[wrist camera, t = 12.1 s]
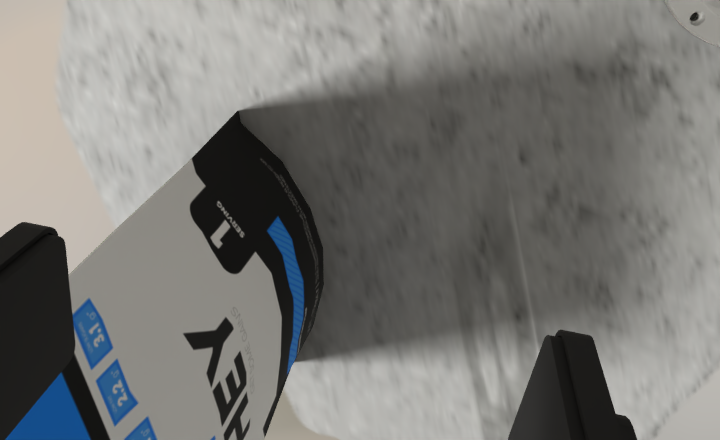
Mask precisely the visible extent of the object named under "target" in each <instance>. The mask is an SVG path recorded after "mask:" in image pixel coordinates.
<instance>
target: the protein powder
mask: <svg viewBox="0 0 720 440" xmlns="http://www.w3.org/2000/svg"><path fill="white" fill-rule="evenodd" d="M68 276H69V286H70V295H71V305H72V314H73V324H74V334H75V351H74V354H73V357H72V359H71V361H70V362H69V363H68V365H67V366H66V367H65V368H64V369H63V371H62V372H61V373H60V374H59V375H58V377H57V378H56V379H55V380H54V381H53V383H52V384H51V385H50V386H49V387H48V389H47V390H46V391H45V392H44V394H43V395H42V396H41V397H40V398H39V400H38V401H37V402H36V403H35V404H34V406H33V407H32V408H31V409H30V410H29V412H28V413H27V414H26V415H25V416H24V418H23V419H22V420H21V421H20V422H19V424H18V425H17V426H16V427H15V428H14V430H13V431H12V432H11V433H10V434H9V436H8V437H7V438H6V439H5V440H264V438H265V436H266V433H267V430H268V428H269V425H270V422H271V419H272V417H273V414H274V411H275V409H276V406H277V403H278V401H279V398H280V395H281V393H282V390H283V387H284V385H285V382H286V379H287V377H288V374H289V371H290V369H291V366H292V365H293V363H294V361H295V359H296V357H297V355H298V353H299V351H300V349H301V347H302V345H303V343H304V342H305V340H306V338H307V336H308V334H309V332H310V330H311V328H312V326H313V324H314V320H315V316H316V312H317V308H318V304H319V300H320V297H321V293H322V289H323V285H324V282H323V247H322V244H321V241H320V238H319V235H318V232H317V228H316V225H315V222H314V219H313V216H312V213H311V210H310V208H309V206H308V204H307V203H306V201H305V199H304V198H303V196H302V194H301V193H300V191H299V189H298V188H297V186H296V184H295V183H294V181H293V179H292V178H291V176H290V174H289V172H288V171H287V169H286V167H285V166H284V164H283V162H282V161H281V160H280V159H279V158H278V157H277V156H276V155H274V154H273V153H272V152H271V151H270V150H269V149H268V148H267V147H266V146H265V145H264V144H263V143H262V142H261V141H260V140H258V139H257V138H256V137H255V136H254V135H253V134H252V133H251V132H250V131H249V130H248V129H247V128H246V127H245V126H243V125H242V124H241V121H240V117H239V112H238V111H237V112H236V113H235V114H234V115H233V116H232V117H231V118H230V119H229V120H228V121H227V122H226V123H225V124H224V125H223V126H222V128H221V129H220V130H219V131H218V132H217V133H216V134H215V135H214V136H213V137H212V138H211V139H210V140H209V141H208V142H207V143H206V144H205V145H204V146H203V147H202V148H201V149H200V150H199V151H198V152H197V154H196V155H195V156H194V157H193V158H192V159H191V160H190V161H189V162H188V163H187V164H186V165H185V166H183V167H182V168H181V169H180V170H179V171H178V172H177V173H176V174H175V175H174V176H173V177H172V178H171V179H169V180H168V181H167V182H166V183H165V184H164V185H163V186H162V187H161V188H160V189H159V190H158V191H157V192H155V193H154V194H153V195H152V196H151V197H150V198H149V199H148V200H147V201H146V202H145V203H144V204H143V205H141V206H140V207H139V208H138V209H137V210H136V211H135V212H134V213H133V214H132V215H131V216H130V217H129V218H128V219H126V220H125V221H124V222H123V223H122V224H121V225H120V226H119V227H118V228H117V229H116V230H115V231H114V232H112V233H111V234H110V235H109V236H108V237H107V238H106V239H105V240H104V241H103V242H102V243H101V244H100V245H99V246H98V247H97V248H96V249H95V250H94V251H93V252H92V253H91V254H90V255H89V256H88V257H87V258H86V259H85V260H84V261H83V262H82V263H81V264H79V265H78V266H77V267H76V268H75V269H74V270H73V271H72V272H71V273H70V274H69V275H68Z"/></svg>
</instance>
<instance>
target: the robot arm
mask: <svg viewBox="0 0 720 440" xmlns="http://www.w3.org/2000/svg"><path fill="white" fill-rule="evenodd" d="M664 1H665V3H666V5H667V7H668V9H669V11H670V12H671V13H672V15H673V16H674V17H675V19H676V20H677V21H678V23H679V24H681V25H682V26H683V27H684V28H685V29H687V30H688V31H689V32H690V33H691V34H693V35H695V36H696V37H698V38H700V39H701V40H703V41H705V42H707V43H710V44H713V45H715V46H718V47H720V0H664ZM695 12H696V14H697V16H696V18H695V19H693V20H690V17H691V15H692V14H693V13H695ZM74 351H75V334H74V324H73V314H72V305H71V295H70V286H69V276H68V266H67V257H66V247H65V242H64V240H63V238H61V237H59V236H58V234H57V232H56V230H55V229H54V228H51V227H47V226H41V225H36V224H32V223H27V222H22V223H20V224H18V225H17V226H15V227H14V228H13V229H11V230H10V231H8V232H7V233H6V234H4V235H3V236H2V237H0V440H5V439H6V438H7V437H8V436H9V434H10V433H11V432H12V431H13V430H14V428H15V427H16V426H17V425H18V424H19V422H20V421H21V420H22V419H23V418H24V416H25V415H26V414H27V413H28V412H29V410H30V409H31V408H32V407H33V406H34V404H35V403H36V402H37V401H38V400H39V398H40V397H41V396H42V395H43V394H44V392H45V391H46V390H47V389H48V387H49V386H50V385H51V384H52V383H53V381H54V380H55V379H56V378H57V377H58V375H59V374H60V373H61V372H62V371H63V369H64V368H65V367H66V366H67V365H68V363H69V362H70V361H71V359H72V357H73V354H74ZM508 440H637V438H636V435H635V432H634V429H633V426H632V424H631V422H630V420H629V419H628V418H627V417H626V416H622V415H617V414H615V411H614V407H613V404H612V401H611V397H610V394H609V390H608V387H607V384H606V380H605V377H604V374H603V370H602V367H601V364H600V360H599V357H598V354H597V350H596V347H595V344H594V340H593V338H592V337H591V336H590V335H585V334H580V333H575V332H570V331H565V330H559V331H558V332H557V333H556V335H555V336H550V335H547V336H546V337H545V339H544V341H543V344H542V347H541V350H540V352H539V355H538V358H537V361H536V363H535V366H534V369H533V371H532V374H531V377H530V380H529V382H528V385H527V388H526V391H525V393H524V396H523V399H522V402H521V404H520V407H519V410H518V413H517V415H516V418H515V421H514V424H513V426H512V429H511V432H510V435H509V438H508Z"/></svg>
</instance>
